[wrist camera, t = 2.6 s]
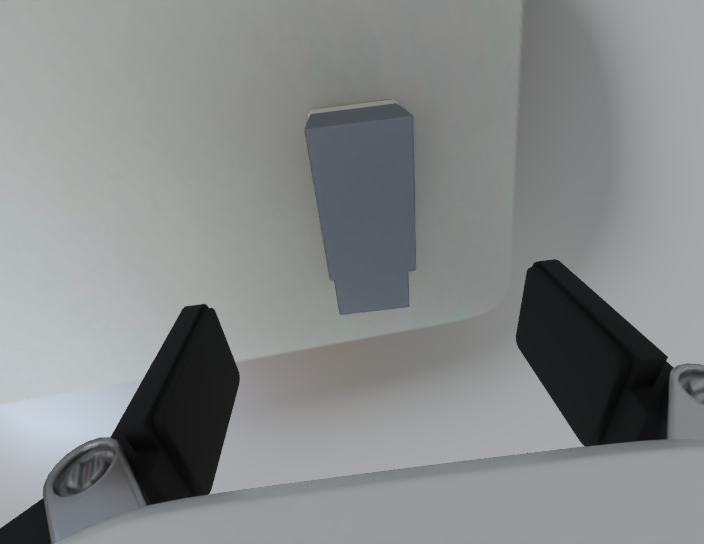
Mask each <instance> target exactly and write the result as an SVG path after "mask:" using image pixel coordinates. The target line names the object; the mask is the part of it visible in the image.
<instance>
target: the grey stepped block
mask: <svg viewBox="0 0 704 544" xmlns="http://www.w3.org/2000/svg"><path fill="white" fill-rule="evenodd" d="M305 136H306V141H307V147H308V153H309V159H310V165H311V171H312V177H313V183H314V189H315V194H316V200H317V206H318V212H319V218H320V224H321V230H322V236H323V242H324V247H325V253H326V259H327V265H328V271H329V277H330V280H334V283H335V289H336V295H337V301H338V307H339V313H340V315H343V314H352V313H360V312H369V311H377V310H386V309H395V308H403V307H409V282H408V271H414V270H416V244H415V191H414V137H413V116H412V115H411V114H410V113H409V112H407V111H406V110H405V109H404V108H402V107H401V106H400V105H399V103H398V102H397V101H396V100H394V99H391V100H383V101H375V102H367V103H359V104H351V105H343V106H336V107H328V108H320V109H312V110H310V111H309V114H308V122H307V125H306V127H305Z"/></svg>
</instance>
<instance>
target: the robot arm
mask: <svg viewBox="0 0 704 544" xmlns="http://www.w3.org/2000/svg"><path fill="white" fill-rule="evenodd" d="M516 342H517V345H518V348H519V349H520V351H521V352H522V354H523V355H524V357H525V358H526V360H527V361H528V363H529V364H530V366H531V367H532V369H533V371H534V372H535V374H536V375H537V376H538V378H539V380H540V381H541V382H542V384H543V386H544V387H545V389H546V390H547V392H548V393H549V395H550V396H551V398H552V399H553V401H554V402H555V404H556V405H557V407H558V408H559V410H560V411H561V413H562V415H563V416H564V418H565V419H566V420H567V422H568V424H569V425H570V427H571V428H572V430H573V431H574V433H575V434H576V436H577V437H578V439H579V440H580V442H581V443H582V444H583V445H584V446H586V447H577V448H569V449H560V450H552V451H544V452H535V453H527V454H519V455H510V456H502V457H493V458H485V459H477V460H469V461H461V462H453V463H445V464H437V465H429V466H421V467H413V468H406V469H397V470H390V471H381V472H373V473H365V474H358V475H349V476H342V477H335V478H327V479H320V480H311V481H304V482H297V483H289V484H281V485H273V486H266V487H258V488H251V489H244V490H237V491H231V492H223V493H217V494H211V495H208V494H209V493H210V491H211V489H212V485H213V481H214V478H215V473H216V470H217V466H218V462H219V459H220V455H221V451H222V447H223V443H224V439H225V435H226V432H227V428H228V424H229V420H230V417H231V413H232V409H233V405H234V401H235V397H236V394H237V390H238V386H239V380H240V377H239V371H238V368H237V366H236V363H235V361H234V358H233V356H232V353H231V350H230V348H229V345H228V343H227V340H226V338H225V335H224V332H223V330H222V327H221V325H220V322H219V320H218V317H217V315H216V312H215V310H214V309H213V308H208V306H207V305H205V304H201V305H193V306H186V307H184V308H183V309H182V311H181V313H180V315H179V317H178V318H177V320H176V322H175V324H174V326H173V327H172V329H171V331H170V333H169V334H168V336H167V338H166V340H165V342H164V343H163V345H162V347H161V349H160V351H159V352H158V354H157V356H156V358H155V359H154V361H153V363H152V364H151V366H150V368H149V370H148V372H147V373H146V375H145V377H144V379H143V381H142V382H141V384H140V386H139V388H138V389H137V391H136V393H135V395H134V397H133V398H132V400H131V402H130V404H129V405H128V407H127V409H126V411H125V413H124V414H123V416H122V418H121V420H120V422H119V423H118V425H117V427H116V429H115V431H114V432H113V434H112V436H111V438H109V437H108V438H97V439H94V440H91V441H88V442H86V443H84V444H82V445H80V446H78V447H77V448H75V449H74V450H72V451H71V452H70V453H68V454H67V455H66V456H65V457H64V458H63V459H62V460H60V461H59V463H57V464H56V466H55V467H54V468H53V470H52V471H51V472H50V474H49V475H48V477H47V479H46V482H45V484H44V489H43V499H41V500H40V501H39V502H37V503H36V504H34V505H33V506H31V507H30V508H29V509H27V510H26V511H24V512H23V513H22V514H20V515H19V516H18V517H16V518H15V519H13V520H12V521H10V522H9V523H8V524H6V525H5V526H3V527H2V528H0V544H704V365H700V364H683V365H678V366H676V367H675V368H673V367H672V366H671V365H670V364H669V363H667V362H666V360H667V358H668V357H667V356H666V355H665V354H664V353H663V352H662V351H661V350H659V349H658V348H657V347H656V346H655V345H654V344H653V343H652V342H650V341H649V340H648V339H647V338H646V337H645V336H643V335H642V334H641V333H640V332H639V331H638V330H637V329H636V328H635V327H633V326H632V325H631V324H630V323H629V322H628V321H627V320H625V319H624V318H623V317H622V316H621V315H620V314H619V313H617V312H616V311H615V310H614V309H613V308H612V307H611V306H610V305H609V304H607V303H606V302H605V301H604V300H603V299H602V298H601V297H599V296H598V295H597V294H596V293H595V292H594V291H593V290H592V289H590V288H589V287H588V286H587V285H586V284H585V283H584V282H582V281H581V280H580V279H579V278H578V277H577V276H576V275H575V274H573V273H572V272H571V271H570V270H569V269H568V268H567V267H565V266H564V265H563V264H562V263H561V262H560V261H558V260H546V261H539V262H535V263H534V264H533V266H532V267H530V268H529V269H528V270H527V275H526V280H525V286H524V292H523V298H522V303H521V309H520V316H519V321H518V327H517V333H516Z"/></svg>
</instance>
